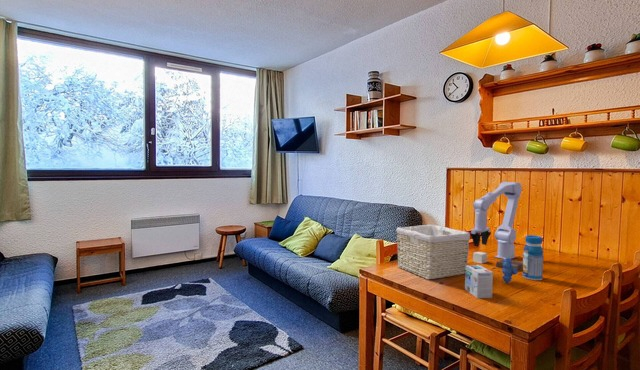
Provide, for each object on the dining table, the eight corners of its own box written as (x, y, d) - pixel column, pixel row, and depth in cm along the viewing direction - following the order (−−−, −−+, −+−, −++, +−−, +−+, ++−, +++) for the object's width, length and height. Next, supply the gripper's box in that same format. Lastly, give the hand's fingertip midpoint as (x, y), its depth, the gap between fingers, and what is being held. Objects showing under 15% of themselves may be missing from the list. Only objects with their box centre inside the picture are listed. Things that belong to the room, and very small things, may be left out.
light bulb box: (464, 289, 154) (464, 264, 153) (479, 288, 154) (479, 264, 154) (477, 298, 143) (477, 272, 143) (493, 298, 144) (493, 272, 143)
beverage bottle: (535, 281, 163) (537, 239, 162) (518, 276, 170) (519, 235, 169) (546, 279, 167) (548, 237, 166) (529, 274, 174) (530, 234, 173)
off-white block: (478, 260, 200) (478, 251, 199) (486, 262, 196) (486, 253, 195) (473, 261, 197) (473, 252, 197) (481, 263, 193) (481, 254, 192)
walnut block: (506, 264, 193) (506, 258, 193) (525, 268, 185) (525, 263, 185) (496, 267, 187) (496, 261, 187) (515, 272, 179) (515, 266, 179)
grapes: (515, 288, 154) (516, 261, 153) (498, 285, 158) (499, 259, 157) (519, 281, 163) (520, 256, 163) (503, 278, 167) (504, 253, 167)
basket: (432, 260, 199) (433, 222, 197) (471, 274, 175) (472, 230, 173) (393, 267, 187) (394, 226, 186) (429, 282, 163) (430, 235, 162)
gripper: (481, 218, 202) (480, 242, 203) (466, 221, 194) (465, 245, 195) (493, 220, 196) (492, 244, 197) (478, 223, 188) (477, 248, 189)
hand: (480, 245), depth 196 cm, fingers open, 7 cm apart
